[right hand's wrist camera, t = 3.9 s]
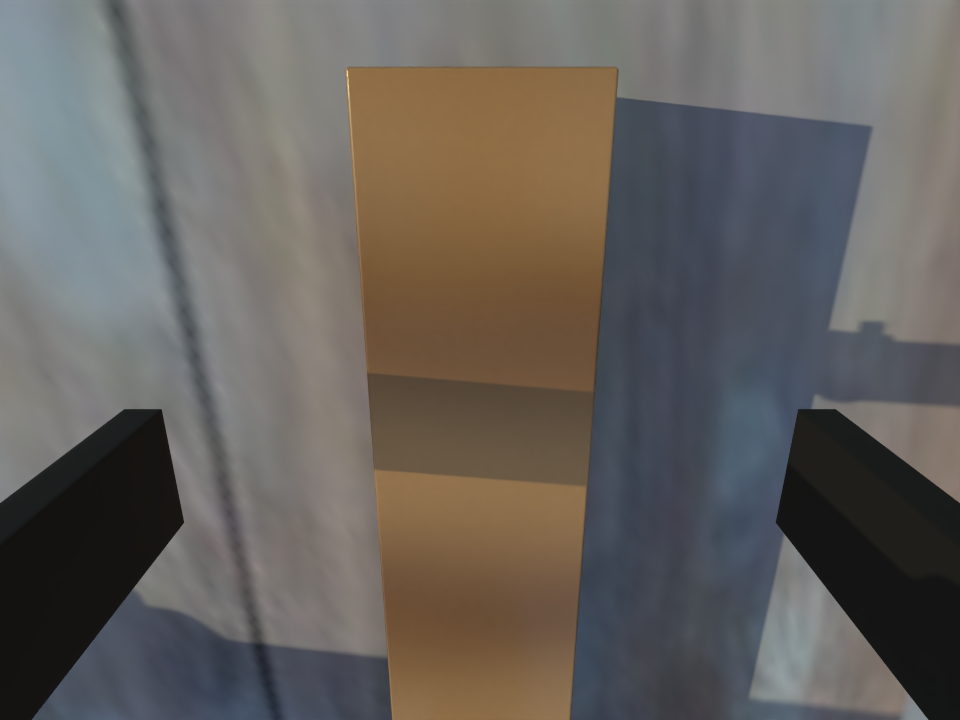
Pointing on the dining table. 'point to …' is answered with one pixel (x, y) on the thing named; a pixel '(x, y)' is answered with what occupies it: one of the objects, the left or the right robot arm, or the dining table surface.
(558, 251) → the post
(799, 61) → the dining table surface
